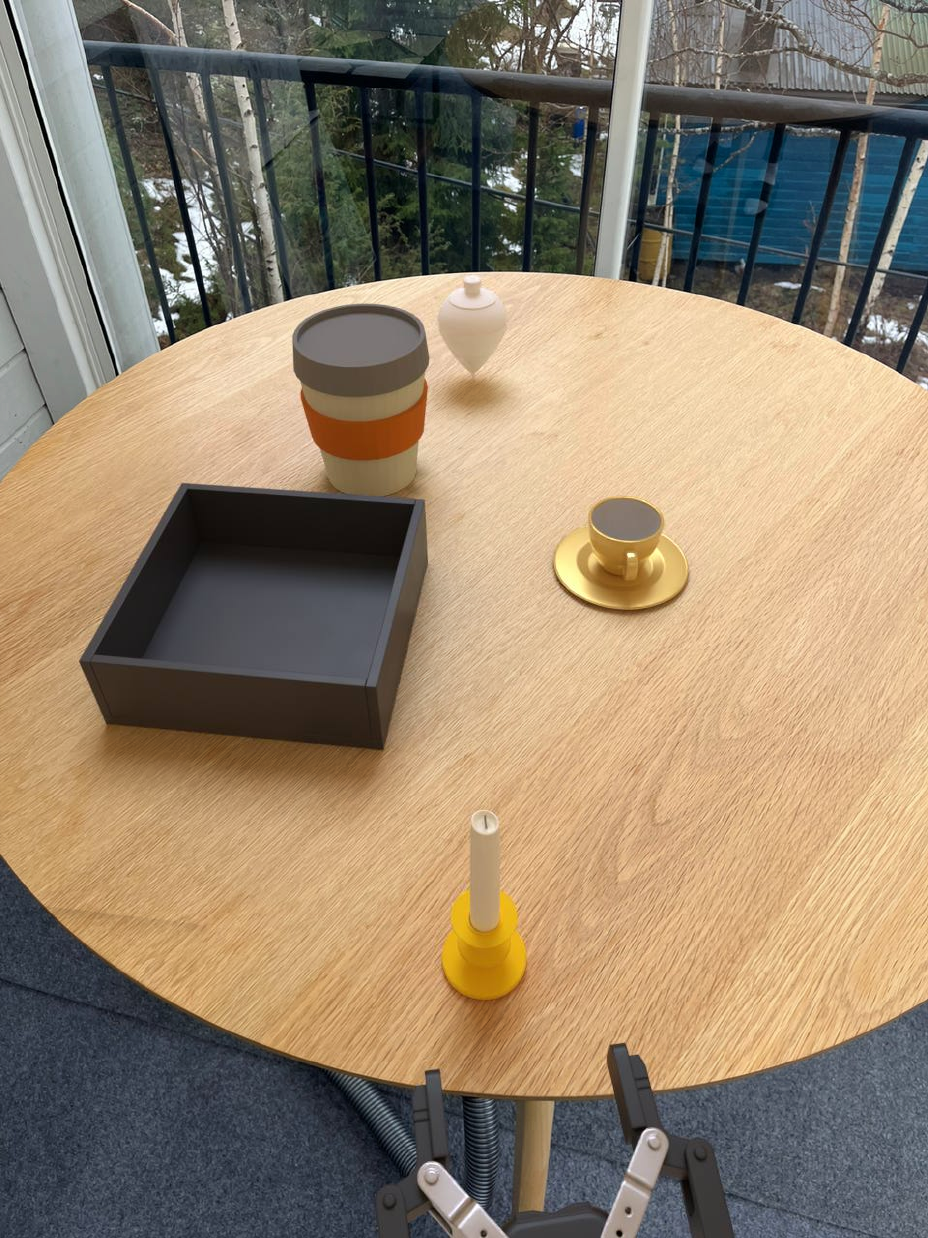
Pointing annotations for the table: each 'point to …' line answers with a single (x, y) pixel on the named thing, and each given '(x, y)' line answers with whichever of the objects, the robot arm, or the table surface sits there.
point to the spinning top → (472, 324)
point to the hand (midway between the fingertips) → (524, 1062)
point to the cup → (621, 556)
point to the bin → (265, 616)
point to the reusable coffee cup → (364, 393)
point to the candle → (484, 923)
